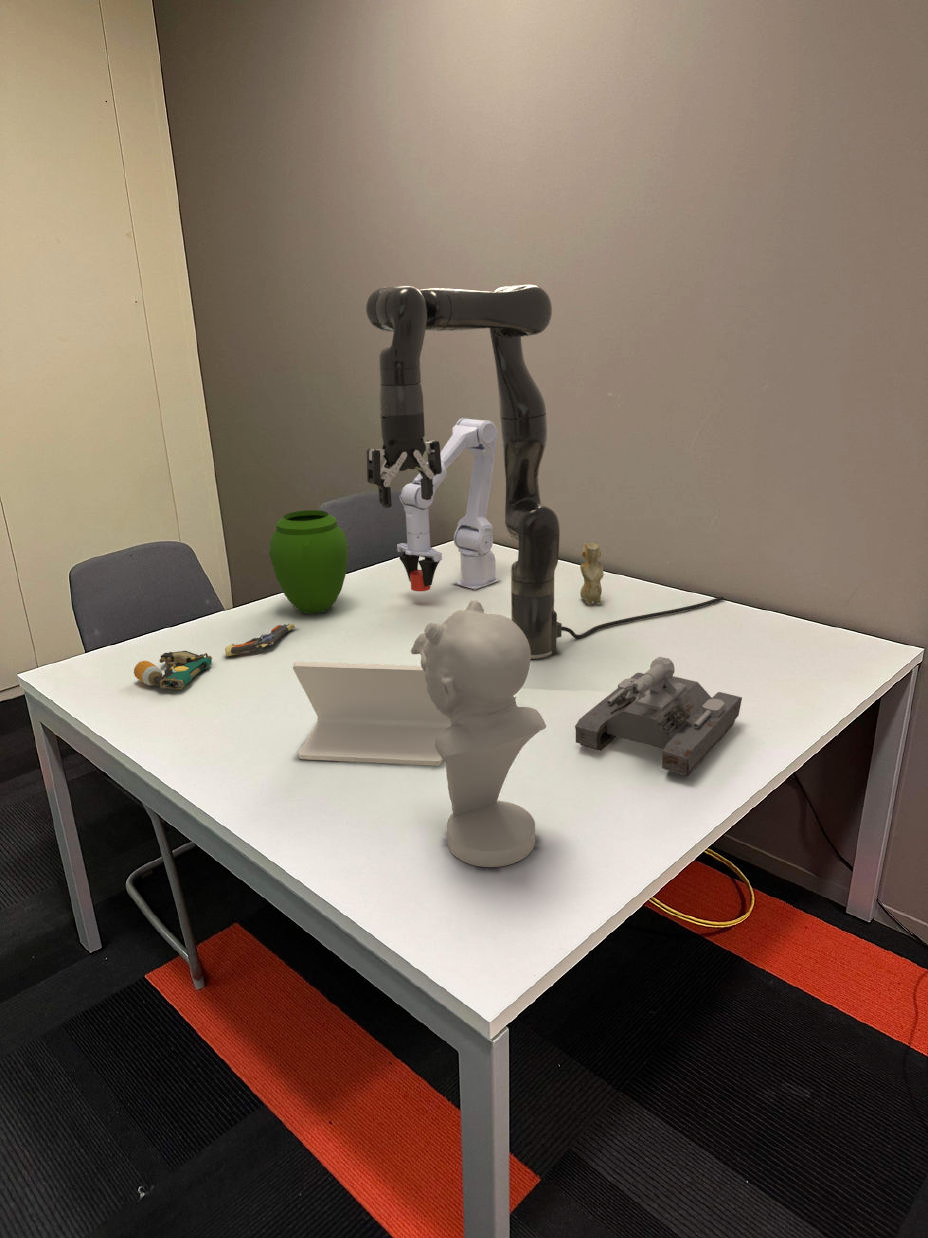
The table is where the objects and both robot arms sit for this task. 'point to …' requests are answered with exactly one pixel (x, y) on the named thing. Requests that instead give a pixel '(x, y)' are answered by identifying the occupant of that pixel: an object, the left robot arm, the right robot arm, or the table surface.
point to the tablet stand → (370, 713)
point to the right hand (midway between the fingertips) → (406, 503)
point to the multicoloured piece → (172, 669)
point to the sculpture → (591, 574)
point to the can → (418, 581)
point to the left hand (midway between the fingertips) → (420, 583)
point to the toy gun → (259, 640)
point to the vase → (309, 559)
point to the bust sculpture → (481, 729)
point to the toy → (661, 717)
